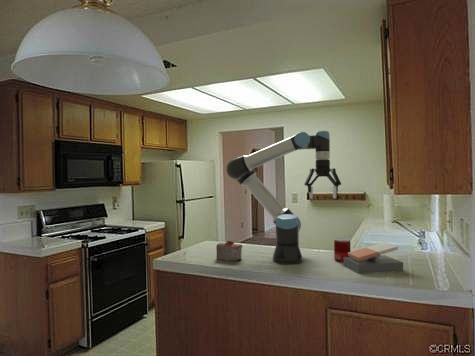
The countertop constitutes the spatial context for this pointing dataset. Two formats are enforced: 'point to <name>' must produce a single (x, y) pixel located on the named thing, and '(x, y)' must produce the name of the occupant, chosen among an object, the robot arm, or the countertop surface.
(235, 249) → the food item
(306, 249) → the countertop surface
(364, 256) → the rocker switch
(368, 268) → the switch base
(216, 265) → the countertop surface
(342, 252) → the canned food
